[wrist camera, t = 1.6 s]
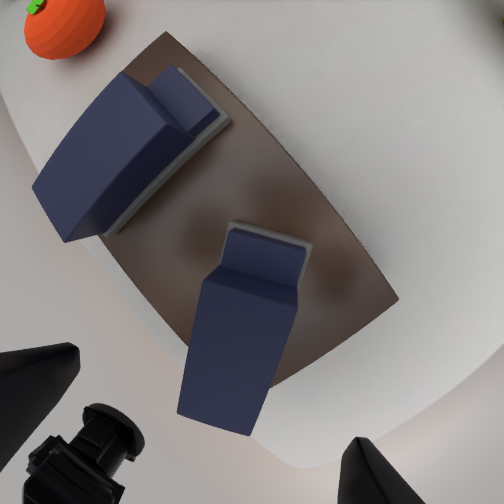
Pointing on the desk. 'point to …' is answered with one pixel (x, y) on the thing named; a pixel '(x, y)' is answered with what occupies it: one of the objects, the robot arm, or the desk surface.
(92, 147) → the trainer
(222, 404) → the trainer
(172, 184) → the shoe display tray
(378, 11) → the desk surface
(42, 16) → the clementine
